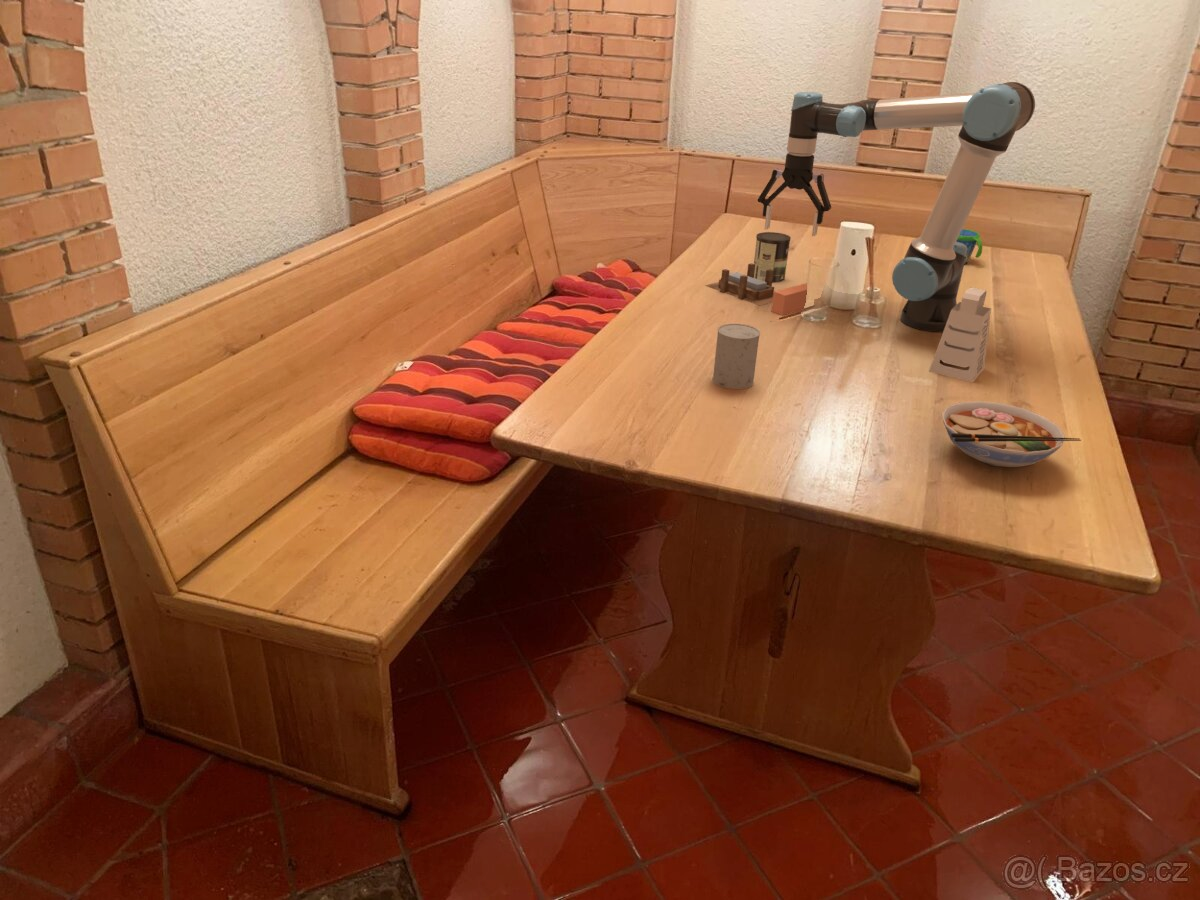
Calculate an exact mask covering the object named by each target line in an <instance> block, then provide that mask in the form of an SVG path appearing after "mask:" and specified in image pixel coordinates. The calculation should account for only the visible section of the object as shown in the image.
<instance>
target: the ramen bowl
mask: <svg viewBox="0 0 1200 900" xmlns="http://www.w3.org/2000/svg"><path fill="white" fill-rule="evenodd" d="M941 418H942V421H943V424H944V426H945V430H946V432H947V435H948V437H949V439H950V440H951V442H952V443H953V444H954V445H955V446H956V448H958V449H959V450H961V451H962V452H963V453H964V454H966V455H967V456H969V457H971V458H972V459H975V460H977V461H980V462H982V463H983V464H987V465H988V466H989V465H990V466H994V467H1006V468H1007V467H1008V468H1018V467H1026V466H1027V467H1028V466H1031V465H1034V464H1036V463H1038V462H1040V461H1042V460H1045V459H1046V458H1048V457H1050V456H1051V455H1052V454H1054V453H1056V452H1057V451H1058V450H1059V449H1060V448H1061V447H1062V446H1063V443H1064V442H1069V441H1070V442H1074V441H1075V442H1079V441H1082V439H1080V438H1075V437H1074V438H1073V437H1066V435H1065V433H1064V432H1063V430H1062V429H1061V427H1060V426H1059V425H1057V424H1056V423H1054V422H1053V421H1052V420H1050V419H1049V418H1047V417H1046V416H1043V415H1041V414H1038V413H1035V412H1033V411H1031V410H1029V409H1026V408H1023V407H1018V406H1015V405H1010V404H1006V403H1002V402H993V401H981V400H973V401H961V402H957V403H955V404H952V405H949V406H946V407H945V409H944V410H943V411H942V413H941Z"/></svg>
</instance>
